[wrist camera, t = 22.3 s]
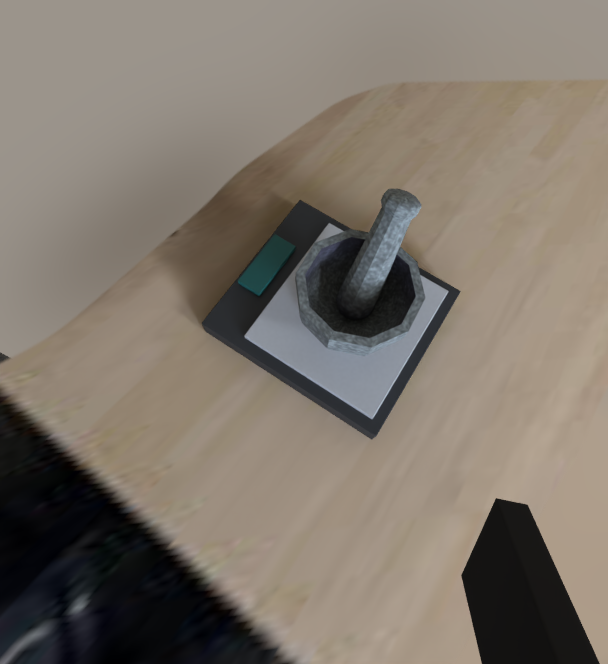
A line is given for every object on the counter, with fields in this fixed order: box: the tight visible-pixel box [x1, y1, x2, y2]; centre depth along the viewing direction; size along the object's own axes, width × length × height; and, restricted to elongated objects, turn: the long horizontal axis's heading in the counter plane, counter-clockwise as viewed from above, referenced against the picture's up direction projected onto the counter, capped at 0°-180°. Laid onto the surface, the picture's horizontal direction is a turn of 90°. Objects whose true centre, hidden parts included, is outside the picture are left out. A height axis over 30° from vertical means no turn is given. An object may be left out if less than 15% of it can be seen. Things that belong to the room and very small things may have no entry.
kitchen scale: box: [202, 200, 460, 439], centre depth 42 cm, size 18×16×3 cm
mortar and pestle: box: [295, 189, 425, 356], centre depth 35 cm, size 11×9×12 cm
